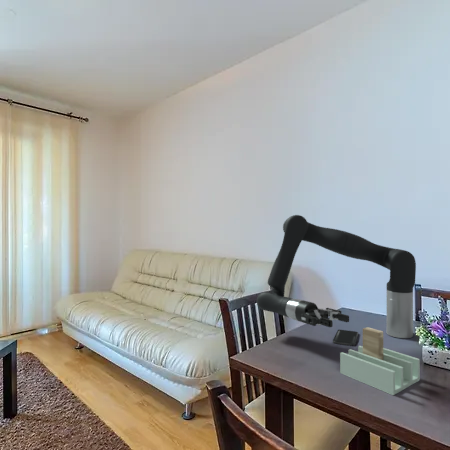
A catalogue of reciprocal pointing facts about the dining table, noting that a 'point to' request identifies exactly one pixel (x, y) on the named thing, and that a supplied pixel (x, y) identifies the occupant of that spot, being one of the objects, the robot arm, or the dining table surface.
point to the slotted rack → (381, 369)
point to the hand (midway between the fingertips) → (340, 321)
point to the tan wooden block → (373, 342)
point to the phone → (346, 337)
